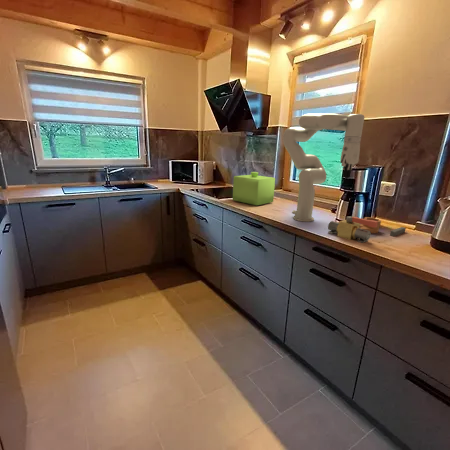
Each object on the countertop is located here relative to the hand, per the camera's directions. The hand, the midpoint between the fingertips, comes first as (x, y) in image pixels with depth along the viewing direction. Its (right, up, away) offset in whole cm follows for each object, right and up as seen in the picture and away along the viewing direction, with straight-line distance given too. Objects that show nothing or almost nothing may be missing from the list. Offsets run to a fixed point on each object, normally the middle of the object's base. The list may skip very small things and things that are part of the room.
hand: (346, 177), depth 142 cm
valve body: (0, -31, -2) cm, 31 cm away
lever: (+3, -24, -8) cm, 26 cm away
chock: (+31, -29, +7) cm, 43 cm away
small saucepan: (+13, -28, +9) cm, 32 cm away
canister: (-40, -5, +79) cm, 89 cm away
